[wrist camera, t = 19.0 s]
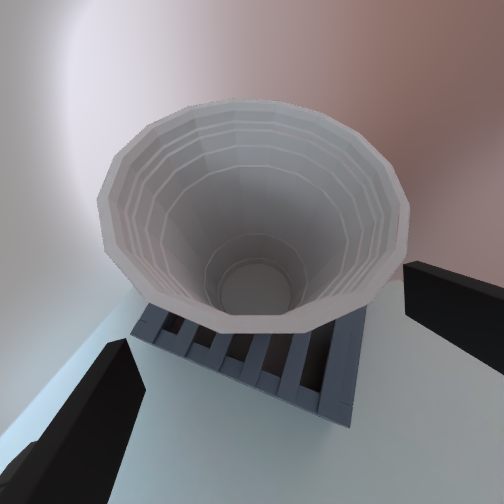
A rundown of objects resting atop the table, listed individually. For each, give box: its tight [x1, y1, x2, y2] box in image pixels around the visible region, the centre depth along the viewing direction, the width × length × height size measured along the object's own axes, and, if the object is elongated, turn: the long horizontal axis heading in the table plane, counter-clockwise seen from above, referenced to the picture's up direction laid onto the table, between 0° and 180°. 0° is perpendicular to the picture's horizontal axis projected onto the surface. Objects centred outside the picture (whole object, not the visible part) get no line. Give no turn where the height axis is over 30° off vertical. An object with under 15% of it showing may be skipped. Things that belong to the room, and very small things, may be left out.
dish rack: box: [130, 303, 367, 428], centre depth 20 cm, size 16×12×4 cm
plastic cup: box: [97, 99, 410, 334], centre depth 13 cm, size 11×11×12 cm
